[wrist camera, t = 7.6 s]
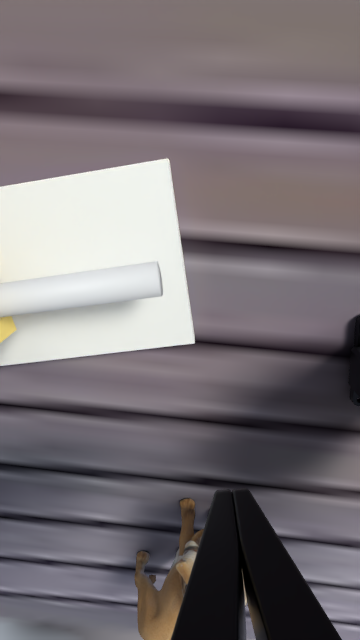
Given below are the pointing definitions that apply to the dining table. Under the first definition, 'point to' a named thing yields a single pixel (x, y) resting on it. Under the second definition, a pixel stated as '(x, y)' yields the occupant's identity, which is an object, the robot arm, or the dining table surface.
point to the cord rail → (92, 265)
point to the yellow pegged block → (6, 327)
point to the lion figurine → (167, 582)
